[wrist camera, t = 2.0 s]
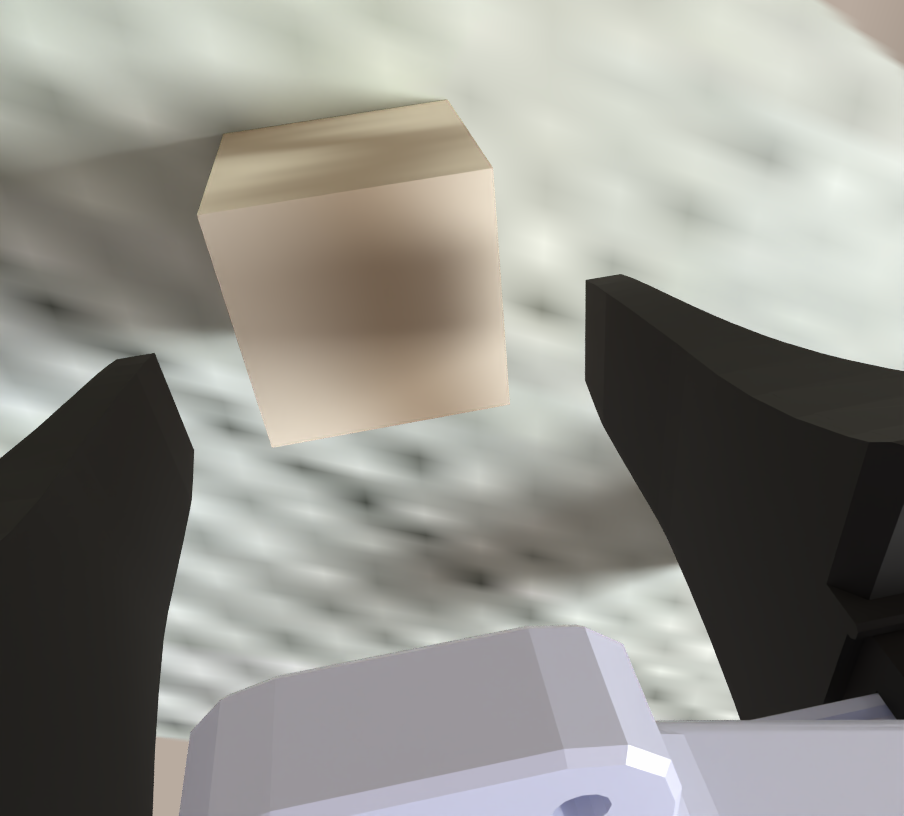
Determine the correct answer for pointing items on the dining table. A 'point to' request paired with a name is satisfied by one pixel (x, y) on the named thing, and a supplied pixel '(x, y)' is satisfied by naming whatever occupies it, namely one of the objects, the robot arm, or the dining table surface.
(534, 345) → the dining table surface
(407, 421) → the cream cube
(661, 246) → the dining table surface
